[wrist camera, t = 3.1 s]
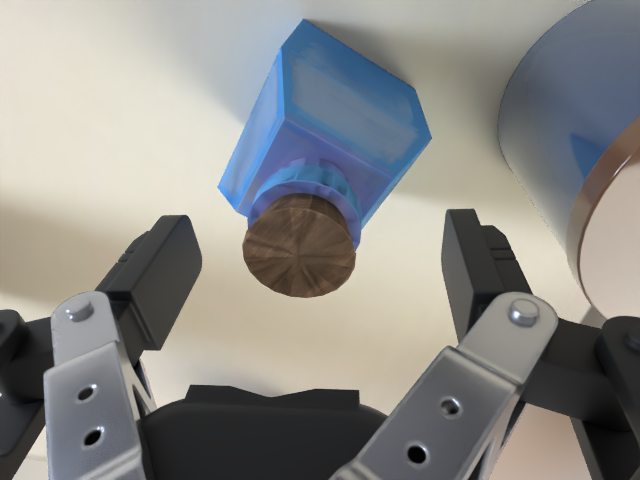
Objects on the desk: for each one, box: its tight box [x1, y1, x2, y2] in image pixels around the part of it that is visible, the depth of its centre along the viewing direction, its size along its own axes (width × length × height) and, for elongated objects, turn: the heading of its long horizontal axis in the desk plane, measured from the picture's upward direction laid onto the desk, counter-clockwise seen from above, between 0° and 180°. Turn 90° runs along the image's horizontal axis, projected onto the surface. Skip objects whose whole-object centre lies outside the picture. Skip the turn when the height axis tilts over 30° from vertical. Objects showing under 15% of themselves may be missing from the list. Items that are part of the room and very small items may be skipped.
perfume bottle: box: [218, 19, 432, 298], centre depth 16 cm, size 6×6×12 cm
